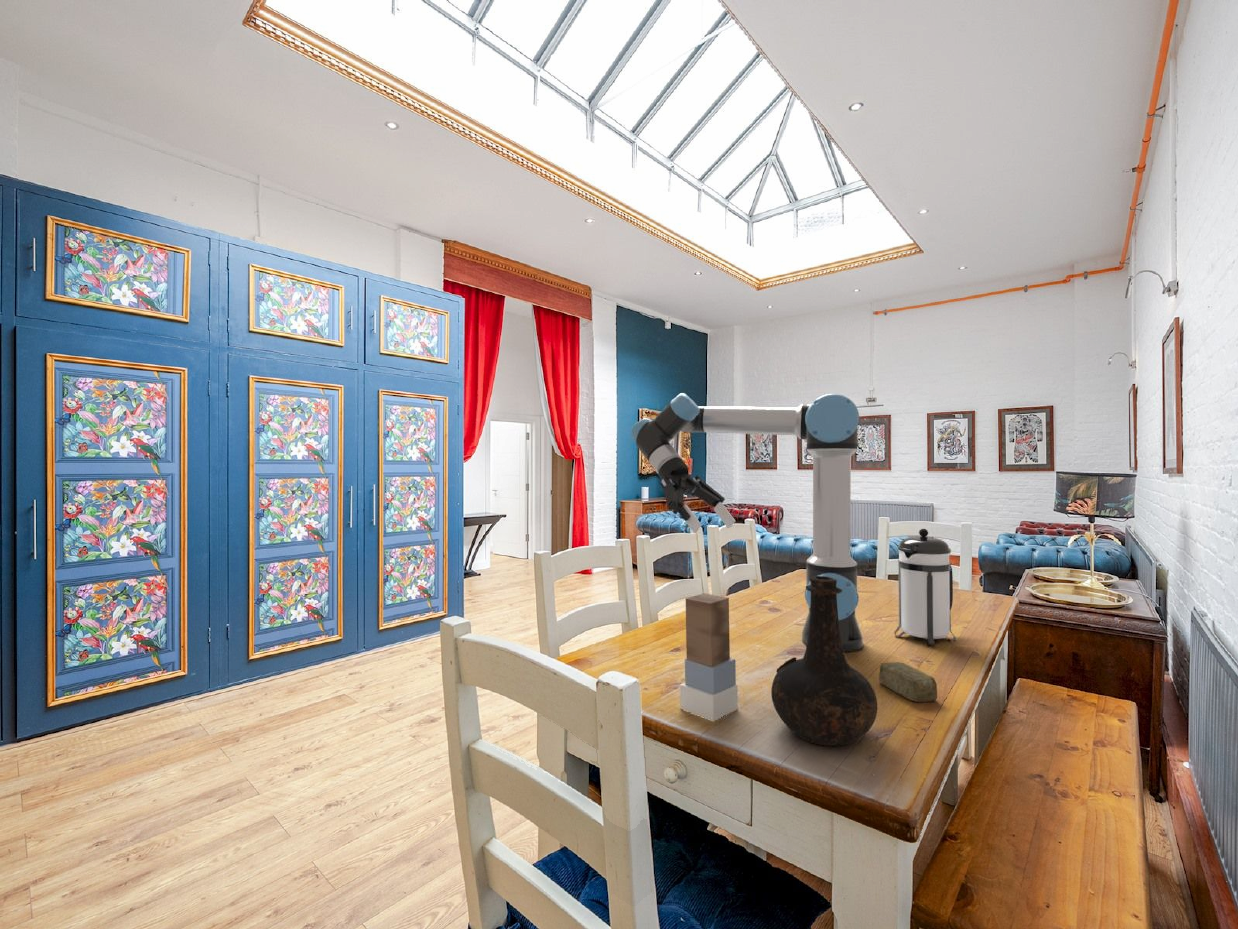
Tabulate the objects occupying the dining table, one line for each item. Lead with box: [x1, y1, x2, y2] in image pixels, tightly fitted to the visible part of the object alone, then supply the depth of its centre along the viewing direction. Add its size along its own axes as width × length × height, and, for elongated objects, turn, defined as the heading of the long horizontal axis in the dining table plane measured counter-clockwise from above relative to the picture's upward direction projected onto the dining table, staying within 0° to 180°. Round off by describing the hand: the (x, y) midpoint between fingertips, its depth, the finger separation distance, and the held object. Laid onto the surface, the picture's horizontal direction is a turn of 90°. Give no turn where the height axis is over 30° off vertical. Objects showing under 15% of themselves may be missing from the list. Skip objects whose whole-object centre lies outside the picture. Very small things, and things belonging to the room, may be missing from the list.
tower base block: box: [679, 682, 739, 723], centre depth 111 cm, size 8×8×5 cm
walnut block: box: [685, 593, 731, 667], centre depth 111 cm, size 6×6×12 cm
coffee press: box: [893, 528, 956, 647], centre depth 155 cm, size 17×16×30 cm
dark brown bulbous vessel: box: [771, 576, 878, 747], centre depth 100 cm, size 18×18×28 cm
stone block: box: [878, 661, 938, 703], centre depth 118 cm, size 6×12×5 cm, turn 13°
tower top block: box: [684, 657, 737, 695], centre depth 111 cm, size 7×7×5 cm
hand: (715, 526), depth 139 cm, fingers open, 13 cm apart
